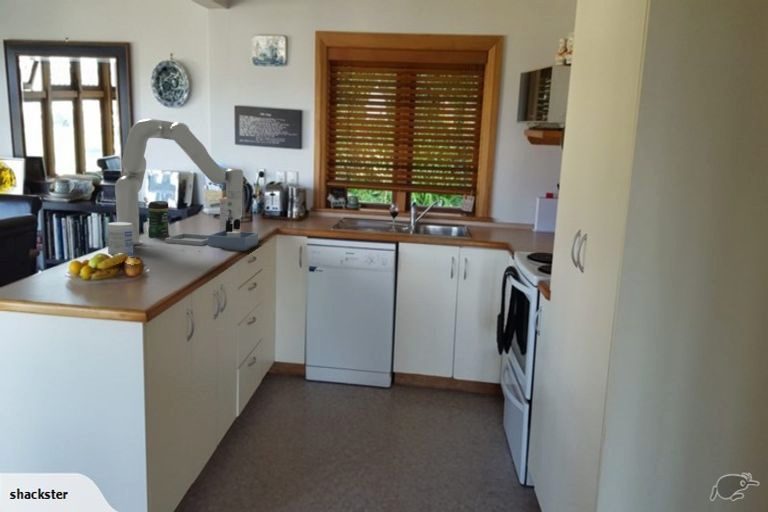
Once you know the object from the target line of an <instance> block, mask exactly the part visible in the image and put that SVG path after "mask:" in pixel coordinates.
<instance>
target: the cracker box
mask: <svg viewBox="0 0 768 512" xmlns="http://www.w3.org/2000/svg"><path fill="white" fill-rule="evenodd" d="M226 203H227V198H226V196H225V197H221V198H219V231H222V230H226V217H225V215H226ZM230 221H231V219H230ZM234 221H235V220H234V218H233V222H232V224H234ZM233 231H239V229H233Z"/></svg>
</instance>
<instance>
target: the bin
mask: <svg viewBox="0 0 768 512" xmlns="http://www.w3.org/2000/svg"><path fill="white" fill-rule="evenodd" d="M237 232H241V238H238V237H227V232H226V230H222V231H220V230H219V231H217V232H214V233H212V234H207V235H208V243H207V244H208V247H215V248H221V250H226V251H227V250H229V251H239V252H246V251H248V250H251V249H253V248H255V247H257V246H258V245H259V233H258V232H253V231H252V232H250V231H239V230H238V231H237Z"/></svg>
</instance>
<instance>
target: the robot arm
mask: <svg viewBox="0 0 768 512" xmlns="http://www.w3.org/2000/svg"><path fill="white" fill-rule="evenodd" d="M150 139H161V140H170V141H174V143H176V144H177V146H178V147H179V148H180V149H181V150H182V151H183V152H184V153H185V154H186V156H187V157H188V158H189V159H190V160H191V162H192V163H194V164H195V165H196V167H197V168H198V169H199V170H200V171H201V172H202V174H203V175H205V177H206V178H207V179H208V180H209V181H210V182H211V183H212V184H213V185H214V184H215V185H221V184H223V183H225V184H226V186H225V189H226V190H225V197H226V198H227V203H226V215H225V217H226V232H232V231H233V229H238V230H241V221H242V219H241V218H243V186H244V185H243V184H244V171H243V170H242V169H239V168H227V167H223V166H221V167H220V166H219V165H218V164H217V162H216V161H215V160H214V158H212V157H211V155H210V154H209V152H208V151H207V148H206V147H205V145H204V144H203V143H202V142H201V141H200V140H199V139H198V138H197V136H196V135H194V133H193V132H192V131H191V129H190V128H189V126H188V125H187V124H186V123H184V122H177V121H176V122H175V121H168V120H162V119H155V118H146V119H145V118H144V119H141V120H139V121H137V122H136V123H134V124H133V125H132V127H131V128H130V129H129V131H128V135H127V138H126V143H125V146H124V151H123V155H122V159H121V168H122V169H123V170H122V176H121V177H119V178H118V179H117V180H116V183H115V185H114V194H115V201H116V202H115V203H116V205H115V206H116V207H115V208H116V222H127V223H132V228H133V247H137V246H138V245H139V244H140V245H141V244H143V243H144V241H143V240H141V239H140V209H139V208H140V207H139V204H140V203H139V192H140V191H141V190H142V188H143V183H144V178H145V175H146V169H147V160H146V159H147V158H146V157H145V153H146V150H147V143H148V140H150ZM233 218H234V220H235V221H234V224H232V222H233ZM230 219H231V221H230Z"/></svg>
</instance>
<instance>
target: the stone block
mask: <svg viewBox="0 0 768 512" xmlns="http://www.w3.org/2000/svg"><path fill="white" fill-rule="evenodd" d="M241 232H242V231H240V232H237V231H232V232H227V237H238V238H241Z"/></svg>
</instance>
